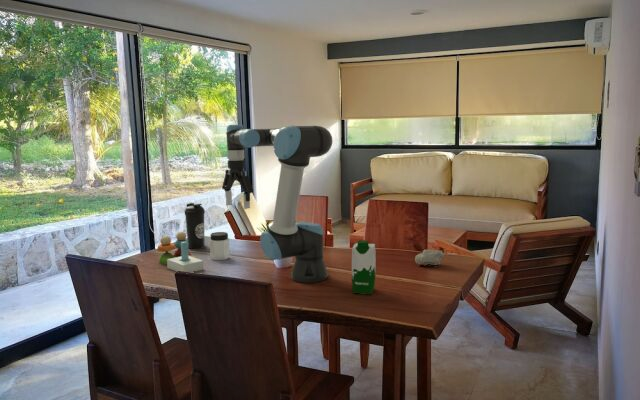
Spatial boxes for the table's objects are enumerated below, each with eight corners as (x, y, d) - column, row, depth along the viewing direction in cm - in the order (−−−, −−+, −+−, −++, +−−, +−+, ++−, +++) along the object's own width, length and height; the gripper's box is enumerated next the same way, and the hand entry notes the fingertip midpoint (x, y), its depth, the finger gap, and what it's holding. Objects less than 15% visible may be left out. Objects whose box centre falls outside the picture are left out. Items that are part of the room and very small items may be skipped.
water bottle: (196, 250, 264) (193, 205, 260) (182, 247, 269) (179, 204, 266) (210, 246, 272) (208, 203, 269) (196, 243, 278) (194, 201, 274)
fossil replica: (411, 264, 234) (422, 272, 225) (411, 247, 232) (422, 254, 223) (435, 259, 238) (447, 267, 229) (435, 242, 236) (447, 249, 227)
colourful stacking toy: (190, 265, 237) (189, 238, 235) (155, 263, 240) (153, 237, 238) (205, 255, 255) (203, 230, 253) (172, 254, 257) (170, 229, 256)
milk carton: (350, 294, 194) (350, 242, 191) (354, 287, 203) (354, 237, 200) (373, 296, 192) (373, 243, 189) (376, 288, 201) (376, 238, 198)
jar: (232, 258, 247) (231, 233, 246) (217, 261, 242) (216, 236, 240) (223, 254, 254) (222, 230, 252) (208, 257, 249) (207, 233, 247)
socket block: (203, 269, 229) (203, 260, 229) (183, 274, 222) (183, 265, 222) (187, 263, 239) (186, 255, 239) (167, 267, 232) (166, 259, 232)
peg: (190, 268, 231) (189, 242, 229) (184, 270, 229) (183, 243, 227) (186, 267, 233) (185, 241, 231) (180, 268, 231) (179, 242, 229)
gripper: (260, 160, 224) (261, 208, 227) (227, 157, 241) (228, 202, 244) (246, 161, 218) (247, 210, 222) (213, 158, 236) (215, 204, 239)
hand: (237, 206), depth 233 cm, fingers open, 13 cm apart
